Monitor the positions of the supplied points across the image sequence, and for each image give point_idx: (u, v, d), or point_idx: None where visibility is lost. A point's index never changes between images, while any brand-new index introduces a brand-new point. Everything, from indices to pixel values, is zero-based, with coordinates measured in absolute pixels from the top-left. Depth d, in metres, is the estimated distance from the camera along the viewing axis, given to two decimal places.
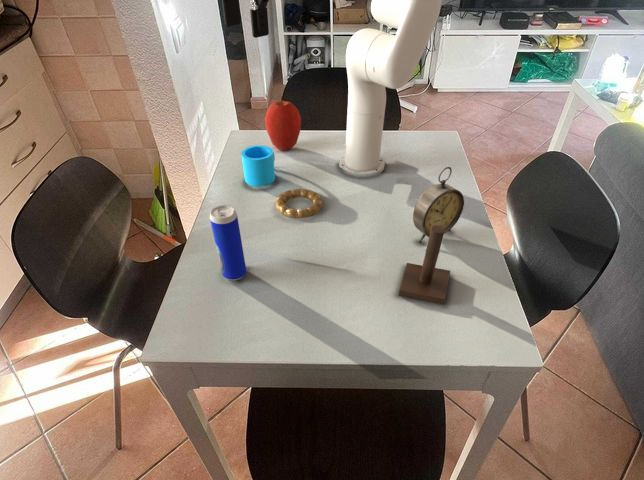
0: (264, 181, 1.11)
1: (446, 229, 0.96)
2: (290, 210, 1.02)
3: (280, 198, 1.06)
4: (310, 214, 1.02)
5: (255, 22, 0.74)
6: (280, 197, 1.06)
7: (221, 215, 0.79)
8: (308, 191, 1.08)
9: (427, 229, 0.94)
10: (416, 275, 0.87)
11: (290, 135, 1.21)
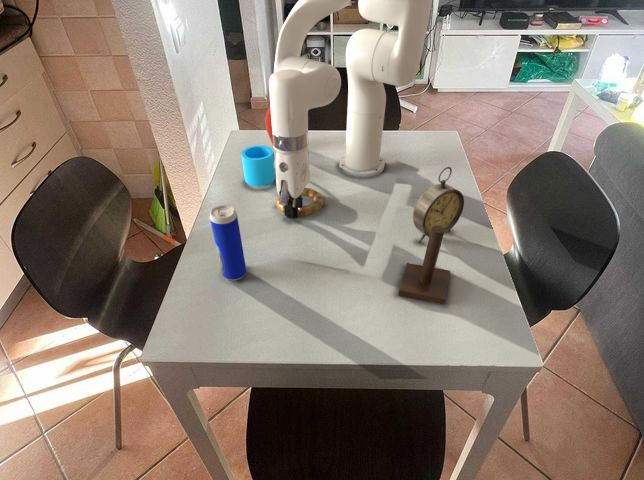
0: (264, 181, 1.11)
1: (446, 229, 0.96)
2: None
3: None
4: (311, 212, 1.03)
5: (286, 211, 1.02)
6: None
7: (221, 215, 0.79)
8: (309, 189, 1.08)
9: (427, 229, 0.94)
10: (416, 275, 0.87)
11: None
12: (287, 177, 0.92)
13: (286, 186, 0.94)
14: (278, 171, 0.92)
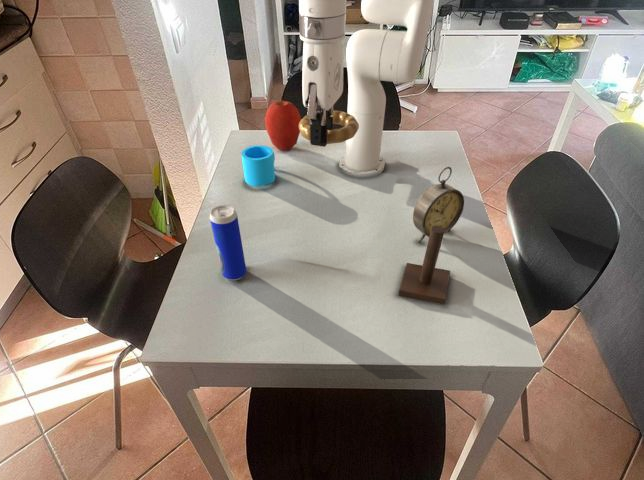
0: (264, 181, 1.11)
1: (446, 229, 0.96)
2: None
3: (305, 119, 0.85)
4: (343, 136, 0.82)
5: (313, 133, 0.81)
6: (305, 118, 0.86)
7: (221, 215, 0.79)
8: (340, 112, 0.87)
9: (427, 229, 0.94)
10: (416, 275, 0.87)
11: (290, 135, 1.21)
12: (317, 78, 0.71)
13: (315, 92, 0.73)
14: (305, 70, 0.71)
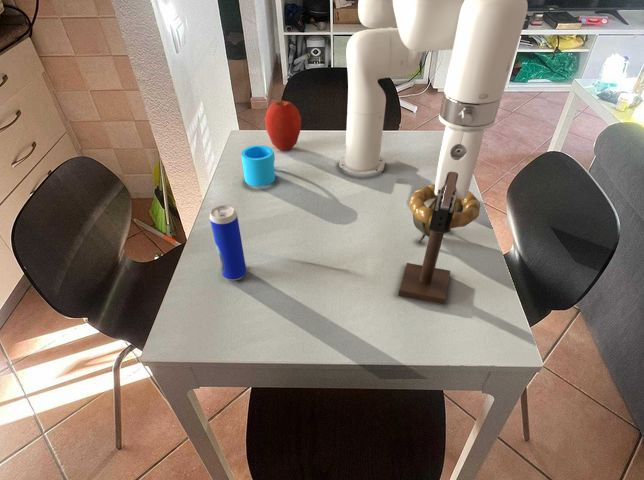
0: (264, 181, 1.11)
1: None
2: None
3: (418, 197, 0.74)
4: (468, 220, 0.71)
5: (434, 219, 0.70)
6: (417, 196, 0.74)
7: (221, 215, 0.79)
8: None
9: (427, 229, 0.94)
10: (416, 275, 0.87)
11: (290, 135, 1.21)
12: (460, 168, 0.60)
13: (453, 182, 0.62)
14: (447, 158, 0.60)
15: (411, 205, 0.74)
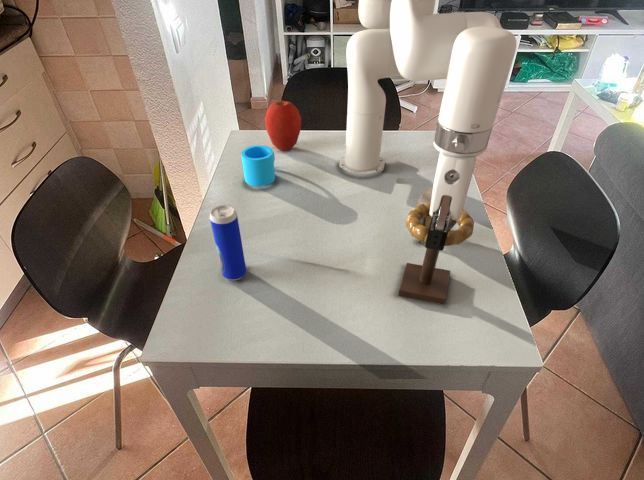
0: (264, 181, 1.11)
1: None
2: None
3: (414, 215, 0.77)
4: (462, 238, 0.73)
5: (430, 237, 0.73)
6: (414, 214, 0.77)
7: (221, 215, 0.79)
8: None
9: None
10: (416, 275, 0.87)
11: (290, 135, 1.21)
12: (454, 191, 0.62)
13: (447, 204, 0.64)
14: (441, 183, 0.62)
15: (408, 223, 0.77)
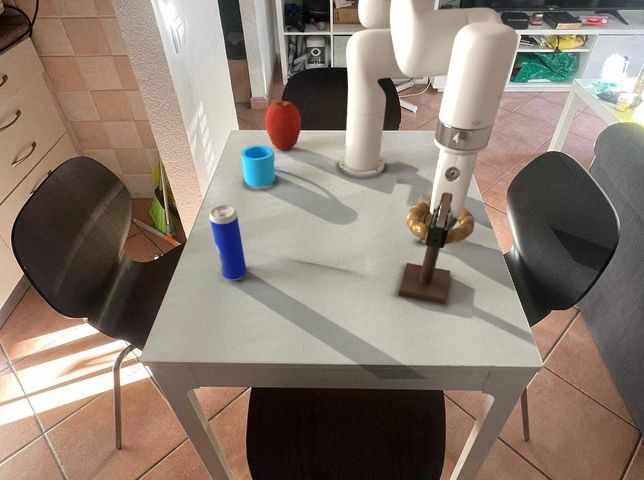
0: (264, 181, 1.11)
1: None
2: None
3: (415, 213, 0.77)
4: (463, 236, 0.73)
5: (430, 235, 0.72)
6: (414, 212, 0.77)
7: (221, 215, 0.79)
8: None
9: None
10: (416, 275, 0.87)
11: (290, 135, 1.21)
12: (455, 189, 0.62)
13: (448, 201, 0.64)
14: (441, 180, 0.62)
15: (408, 221, 0.76)
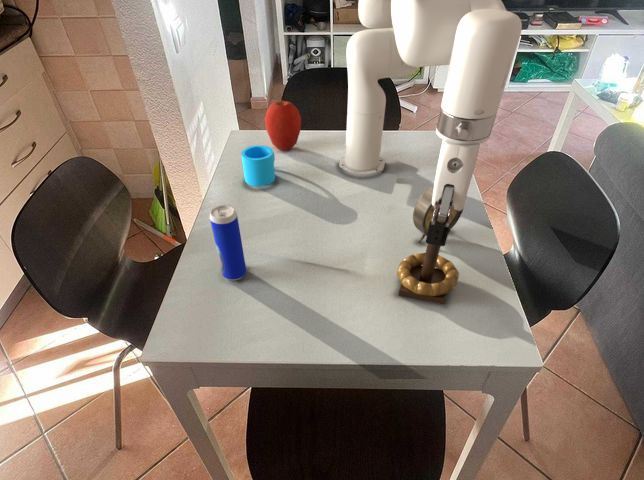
0: (264, 181, 1.11)
1: None
2: (422, 285, 0.82)
3: (405, 267, 0.85)
4: (447, 290, 0.82)
5: (431, 232, 0.69)
6: (404, 265, 0.86)
7: (221, 215, 0.79)
8: None
9: (427, 229, 0.94)
10: (416, 275, 0.87)
11: (290, 135, 1.21)
12: (457, 180, 0.61)
13: None
14: (443, 171, 0.61)
15: (399, 274, 0.85)
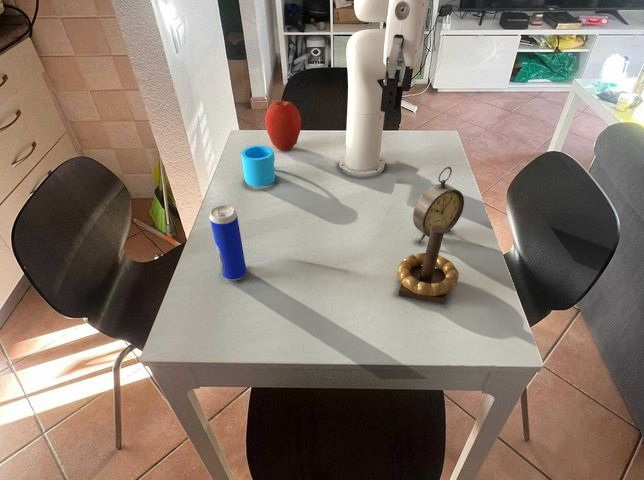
0: (264, 181, 1.11)
1: (446, 229, 0.96)
2: (422, 285, 0.82)
3: (405, 267, 0.85)
4: (447, 290, 0.82)
5: (385, 97, 0.68)
6: (404, 265, 0.86)
7: (221, 215, 0.79)
8: None
9: (427, 229, 0.94)
10: (416, 275, 0.87)
11: (290, 135, 1.21)
12: (405, 29, 0.61)
13: (400, 46, 0.63)
14: (392, 19, 0.61)
15: (399, 274, 0.85)
